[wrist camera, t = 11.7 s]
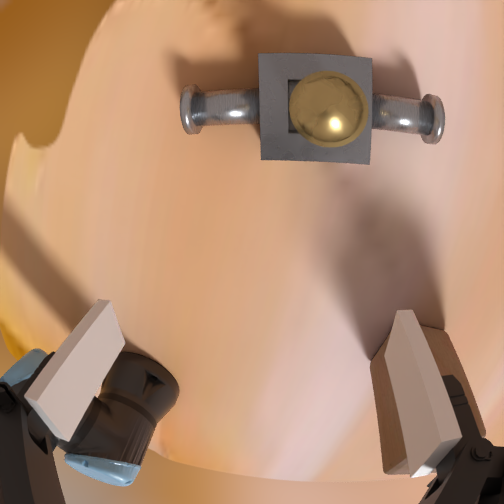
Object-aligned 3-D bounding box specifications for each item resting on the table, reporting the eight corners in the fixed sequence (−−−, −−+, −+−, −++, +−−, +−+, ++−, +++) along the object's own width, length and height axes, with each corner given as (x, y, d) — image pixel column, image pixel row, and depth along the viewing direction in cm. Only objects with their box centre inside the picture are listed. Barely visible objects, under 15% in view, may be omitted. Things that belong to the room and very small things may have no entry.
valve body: (200, 152, 34) (183, 161, 29) (196, 65, 29) (177, 60, 24) (420, 160, 30) (440, 172, 25) (424, 74, 26) (445, 71, 21)
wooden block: (396, 316, 40) (431, 438, 23) (448, 328, 40) (490, 435, 22) (366, 363, 45) (380, 477, 27) (416, 372, 45) (440, 474, 27)
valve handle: (293, 127, 30) (289, 146, 18) (292, 83, 28) (288, 69, 15) (338, 129, 29) (367, 150, 17) (338, 85, 27) (368, 74, 15)
